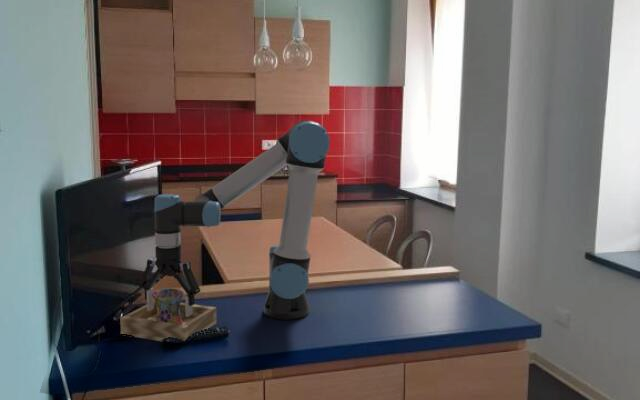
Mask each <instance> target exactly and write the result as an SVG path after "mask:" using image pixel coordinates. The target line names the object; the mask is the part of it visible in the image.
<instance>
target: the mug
mask: <svg viewBox="0 0 640 400" xmlns="http://www.w3.org/2000/svg"><path fill="white" fill-rule="evenodd" d="M184 294H185V291H183V290H181V289H179V288H164V289H163V288H162V289H158V290H154V293H153V294H152V296H153V298H154V300H155V302H156V306H157V319H156V321H161V322H168V323H174V324H181V325H182V324H183V321H182V319H181V316H180V303H182V299H183V296H184Z"/></svg>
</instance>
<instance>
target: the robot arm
mask: <svg viewBox="0 0 640 400" xmlns="http://www.w3.org/2000/svg"><path fill="white" fill-rule="evenodd" d="M275 141H276V143H275V144H274V145H272V146H271V147H269V148H268V149H267V150H265V151H264V152H262V153H260V154H259V155H258V156H257V157H255V158H254V159H252V160H250V161H249V162H247V163H246V164H245V165H244V166H241V167H240V168H239V169H237V170H236V171H234V172H232V173H231V174H230V175H229V176H227V177H225V178H224V179H223V180H221V181H220V182H218V183H217V184H216V185H214V186H212V187H211V188H210V189H208V190H207V191H204V193H201V194H199V195H197V196H196V198H195V200H194V201H183V200H182V201H181V198H180V195H179V194H174V193H164V194H163V193H162V194H158V195H157V196H155V197H154V209H153V214H154V217H153V218H154V245H156V246H155V247H154V248H155V249H154V250H155V258H154V257H151V258H149V259H147V261H146V267H145V269H144V272H143V274H142V276H141V278H140V281H139V283H138V287H139V288H142V289H143V290H144V299H145V301H146V304H147V311H151V310H152V309H154V298H153V296H152V294H153V293H154V292H155V289H154V288H153V286H154V284H156V282H157V281H158V279H159V278H161V276H168V277H173V278H174V279H175V280H176V281H177V282H178V283H179V285H180V286H181V287H182V289H183V290H184V293H185V294H186V295H185V297H184V298H185V302H184V303H185V307H186V317H188V316H190V315H192V305H194V304H195V301H196V300H195V295H197V294H199V293H200V292H201V288H200V286H199V284H198V282H197V280H196V278H195V275H194V273H193V271H192V267H191V262H189V261H187V262H182V261H181V258H182V246H181V243H182V242H181V238H182V237H181V232H182V231H181V227H208V228H209V227H217V226H219V225H220V224H221V218H222V217H221V215H222V213H221V210H223V209H224V208H226V207H227V206H228V205H231V204H232V203H233V202H235V201H237V199H240V198H241V197H242V196H243V195H245V194H247V193H248V192H249V191H251V190H253V189H254V188H255V187H257V186H258V185H260V184H261V183H263V182H264V181H266V180H267V179H268V178H270V177H272V176H273V175H275V174H276V173H277V172H280V170H282V169H283V168H285V167H288V169H289V174H288V182H287V187H286V196H285V201H284V209H283V215H282V216H283V217H282V221H281V222H282V223H281V224H282V225H281V229H280V231H281V232H280V238H279V244H275V245H272V246H270V248H269V253H268V257H269V275H268V278H269V281H268V282H269V284H268V285H269V286H268V287H269V289H268V293H267V296H266V299H265V302H264V304H263V305H264V306H263V313H264V315H266V316H267V317H268V318H272V319H276V320H296V319H301V318H304V317H306V316H308V315H309V312H310V305H309V302H308V299H307V295H306V290H307V289H308V286H309V283H310V279H309V269H310V262H311V254H310V252H309V251H308V243H309V236H310V231H311V229H310V228H311V224H312V215H313V210H314V202H315V196H316V189H317V184H318V183H317V182H318V178H319V177H318V175H319V173H320V172H322V171H323V170H325V163H326V157H327V154H328V151H329V149H330V145H331V143H330V136H329V133H328V132H327V130H326V128H325V127H324V126H323V125H322V124H321V123H318V122H317V121H313V120H307V119H306V120H301V121H299V122H296V123H295V124H294V125H293V126H292V127H291V128H290V129H288V130H287V131H286V132H285V133H284V134H282V135H281V136H280V137H279V138H277V139H276V140H275ZM155 266H156V268H157V269H156V270H155V272H154V274H153V275H152V276H151V274H152V272H153V270H154V268H155Z"/></svg>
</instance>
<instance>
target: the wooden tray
mask: <svg viewBox="0 0 640 400" xmlns="http://www.w3.org/2000/svg"><path fill="white" fill-rule="evenodd" d="M180 316H181V319H182V321H183V324H182V325H181V324H174V323H168V322H161V321H156V319H157V306H156V302H155V300H154V309H152V310H151V311H147V303H146V304H145V305H143V306H141V307H138V308H136V309H135V310H133V311H132V312H130V313H127V314H126V315H124V316H122V317H120V319H119V321H120V322H119V324H120V335H121V334H127V335H132V336H134V338H140V339H145V340H152V341H157V342H158V341H159V342H163V341H162V340H163V339H164V338H168V337H173V338H178V339H181V340H183V341H185V340H186V339H187V338H188V337H189V336H191V335H192V334H193V333H195V332H197V331H200V330H204V329H207V330H209V329H210V328H212V327H213V326H215V325H216V324H217V320H218V319H217V306H211V305H210V306H208V305H202V304H195V303H194V305H192V315H190V316H188V317H186V307H185V302H181V303H180ZM208 328H209V329H208ZM132 336H131V337H132Z"/></svg>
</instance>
